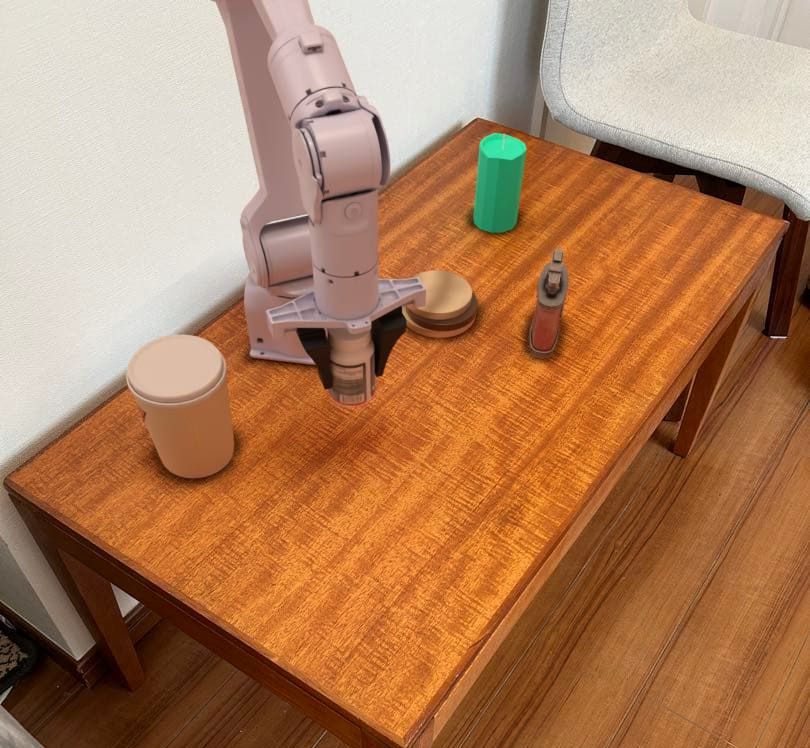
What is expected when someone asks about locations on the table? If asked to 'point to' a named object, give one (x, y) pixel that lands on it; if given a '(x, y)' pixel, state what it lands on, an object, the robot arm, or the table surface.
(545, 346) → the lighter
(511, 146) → the candle
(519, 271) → the table surface
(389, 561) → the table surface
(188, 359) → the coffee cup
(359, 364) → the pill bottle
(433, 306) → the tan layered disc
